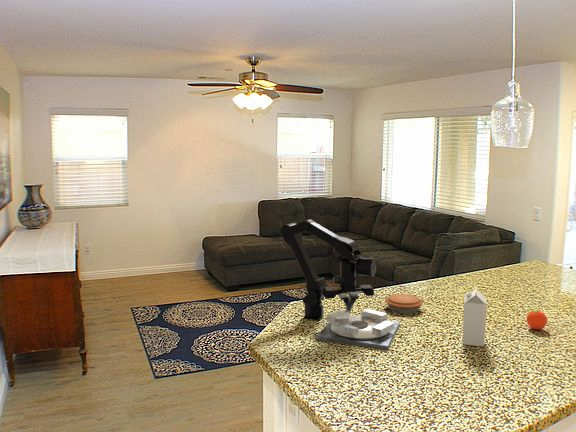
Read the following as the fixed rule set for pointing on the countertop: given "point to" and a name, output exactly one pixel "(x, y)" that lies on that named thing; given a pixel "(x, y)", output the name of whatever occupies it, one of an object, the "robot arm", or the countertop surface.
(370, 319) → the slotted metal disc
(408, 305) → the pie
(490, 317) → the countertop surface
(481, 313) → the milk carton
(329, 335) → the base plate
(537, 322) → the tomato
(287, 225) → the robot arm
